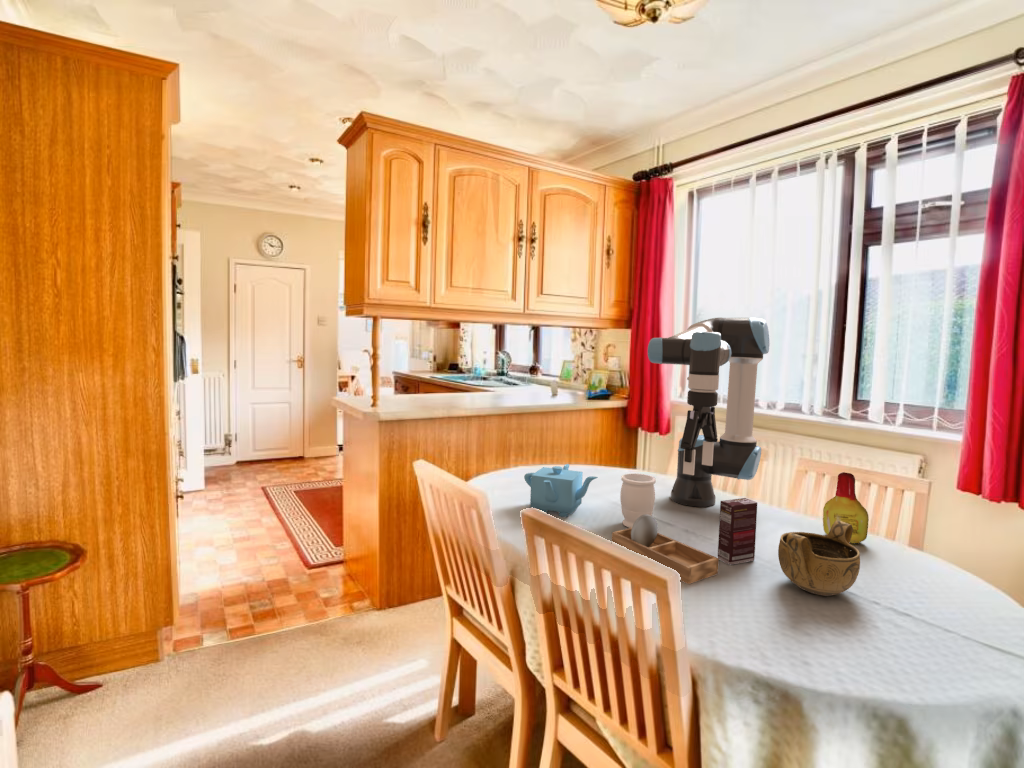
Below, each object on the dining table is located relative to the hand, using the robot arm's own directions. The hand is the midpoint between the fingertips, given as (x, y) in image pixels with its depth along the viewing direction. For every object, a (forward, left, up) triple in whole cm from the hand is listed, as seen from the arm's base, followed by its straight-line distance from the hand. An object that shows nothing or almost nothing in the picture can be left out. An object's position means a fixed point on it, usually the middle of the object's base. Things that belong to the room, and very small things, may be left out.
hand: (698, 469), depth 148 cm
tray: (+11, -1, -23) cm, 26 cm away
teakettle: (+11, -45, -23) cm, 52 cm away
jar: (-2, -23, -23) cm, 33 cm away
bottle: (-47, +16, -23) cm, 55 cm away
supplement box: (-6, +9, -23) cm, 26 cm away
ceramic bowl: (-8, +29, -23) cm, 38 cm away
